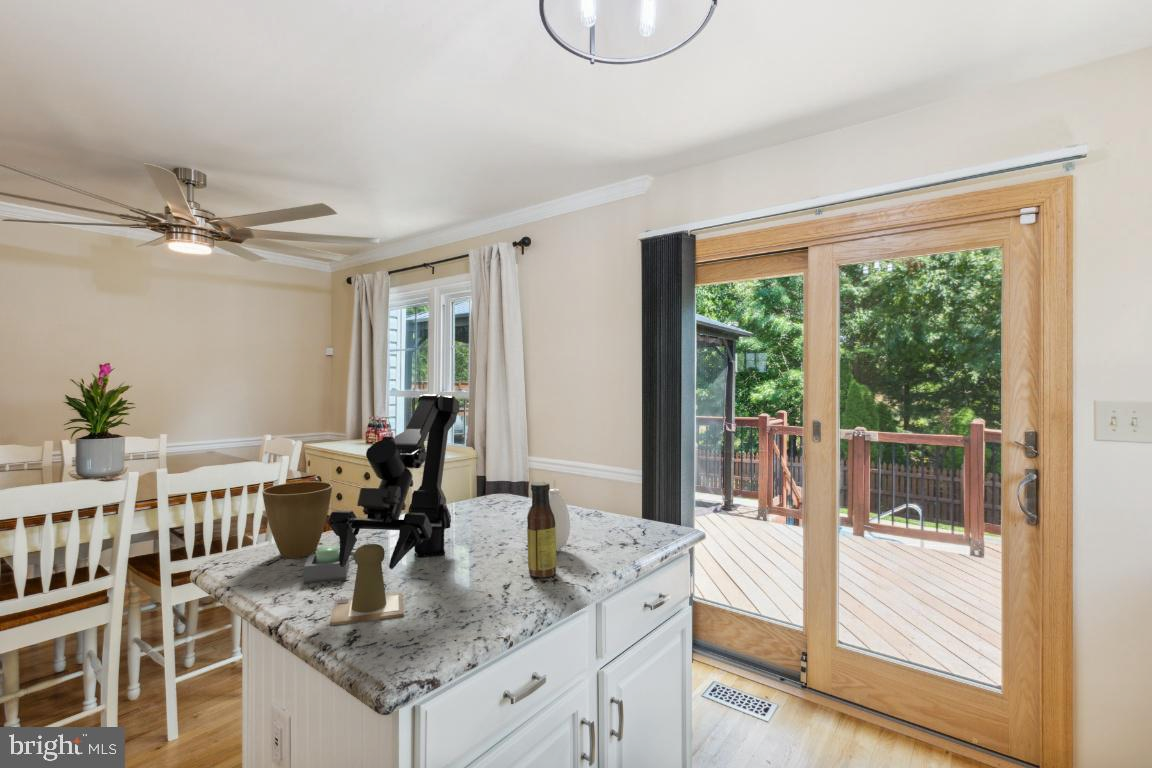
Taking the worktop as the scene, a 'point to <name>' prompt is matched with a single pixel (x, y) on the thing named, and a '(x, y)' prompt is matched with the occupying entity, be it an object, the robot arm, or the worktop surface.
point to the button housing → (324, 570)
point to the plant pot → (297, 515)
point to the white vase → (559, 517)
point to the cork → (369, 579)
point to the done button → (327, 554)
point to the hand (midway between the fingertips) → (365, 567)
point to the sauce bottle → (541, 533)
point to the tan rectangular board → (347, 615)
